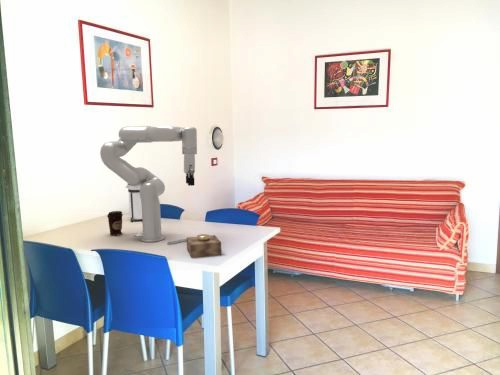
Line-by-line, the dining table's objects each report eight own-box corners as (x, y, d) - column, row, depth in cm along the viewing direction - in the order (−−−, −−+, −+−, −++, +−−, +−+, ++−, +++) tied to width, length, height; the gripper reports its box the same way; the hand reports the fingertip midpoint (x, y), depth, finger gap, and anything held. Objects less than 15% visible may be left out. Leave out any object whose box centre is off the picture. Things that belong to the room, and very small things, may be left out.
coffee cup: (127, 233, 232) (126, 211, 231) (116, 236, 225) (115, 213, 223) (115, 232, 236) (114, 210, 235) (105, 235, 229) (103, 212, 227)
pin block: (191, 257, 185) (190, 244, 184) (187, 249, 198) (186, 237, 197) (221, 254, 189) (221, 242, 188) (215, 247, 202) (215, 235, 201)
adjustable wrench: (168, 246, 207) (168, 242, 207) (164, 243, 212) (163, 240, 212) (212, 238, 220) (212, 235, 220) (207, 236, 225) (207, 233, 225)
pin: (198, 253, 190) (198, 237, 189) (197, 250, 195) (196, 234, 194) (210, 252, 191) (210, 236, 190) (208, 249, 197) (208, 233, 196)
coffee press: (139, 223, 259) (137, 176, 255) (122, 220, 268) (120, 175, 264) (159, 218, 273) (157, 174, 270) (143, 216, 282) (141, 173, 278)
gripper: (180, 150, 217) (181, 182, 219) (183, 152, 200) (184, 186, 203) (194, 150, 219) (195, 182, 221) (199, 152, 202) (199, 186, 205)
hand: (190, 184), depth 212 cm, fingers open, 9 cm apart
